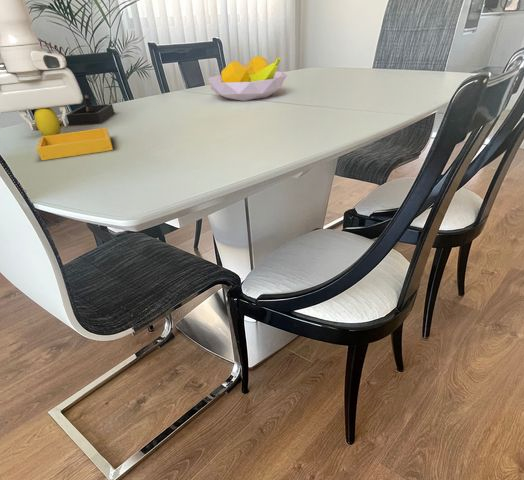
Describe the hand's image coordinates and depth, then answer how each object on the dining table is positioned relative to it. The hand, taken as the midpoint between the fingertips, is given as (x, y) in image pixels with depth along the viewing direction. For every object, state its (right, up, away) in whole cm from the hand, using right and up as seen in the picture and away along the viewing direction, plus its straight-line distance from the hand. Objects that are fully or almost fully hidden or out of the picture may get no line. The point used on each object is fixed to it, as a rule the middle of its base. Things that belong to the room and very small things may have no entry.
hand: (50, 128), depth 98 cm
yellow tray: (+10, -8, -6) cm, 15 cm away
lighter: (+2, +15, +20) cm, 25 cm away
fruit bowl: (+50, +30, +34) cm, 67 cm away
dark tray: (+2, +15, +20) cm, 25 cm away
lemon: (0, -2, +2) cm, 3 cm away
